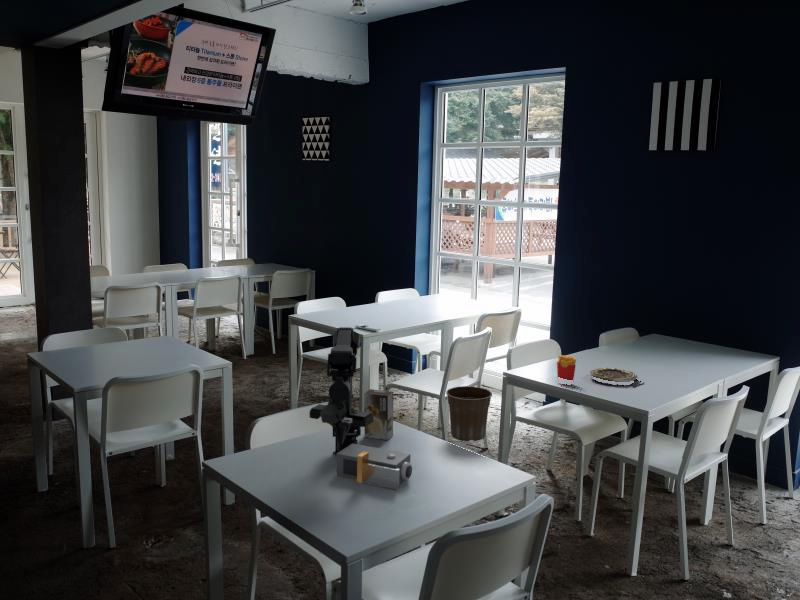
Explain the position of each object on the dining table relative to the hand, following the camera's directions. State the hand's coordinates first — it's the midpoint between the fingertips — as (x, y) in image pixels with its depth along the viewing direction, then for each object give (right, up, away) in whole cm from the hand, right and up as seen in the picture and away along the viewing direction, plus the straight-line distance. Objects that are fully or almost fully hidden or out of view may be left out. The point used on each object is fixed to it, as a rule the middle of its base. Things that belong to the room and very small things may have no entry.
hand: (341, 443), depth 210 cm
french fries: (+94, +4, +118) cm, 151 cm away
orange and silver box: (+11, -12, -3) cm, 17 cm away
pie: (+117, +4, +125) cm, 172 cm away
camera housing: (+10, -11, +6) cm, 16 cm away
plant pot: (+42, -6, +44) cm, 61 cm away
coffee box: (+10, -6, +42) cm, 44 cm away
